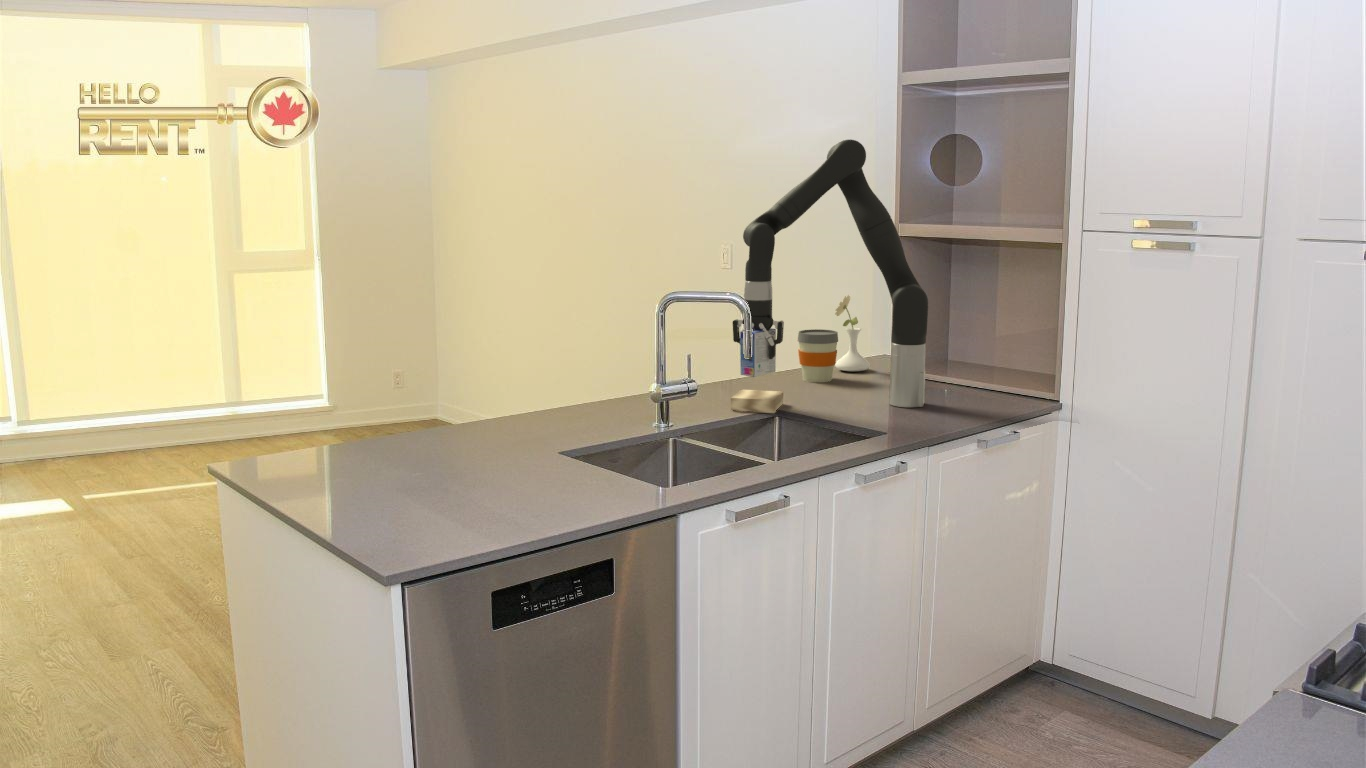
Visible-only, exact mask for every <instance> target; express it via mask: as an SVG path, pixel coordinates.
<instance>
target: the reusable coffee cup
mask: <svg viewBox="0 0 1366 768" xmlns="http://www.w3.org/2000/svg"><path fill="white" fill-rule="evenodd" d="M797 334H798V335H797V342H798V347H799V349H798V359H799V360H798V361H799V364H800V365H801V366H800V367H801V374H802V381H804V382H807V381H808V383H828V381H829V382H831V381H832V380H833V372H834V368H835V364H836V362H837V355H838V354H837V353H838V349H837V345H838V342H839V335H838V331H836V330H833V329H832V330H831V329H817V328H816V329H803V330H799V331H798V333H797Z"/></svg>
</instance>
